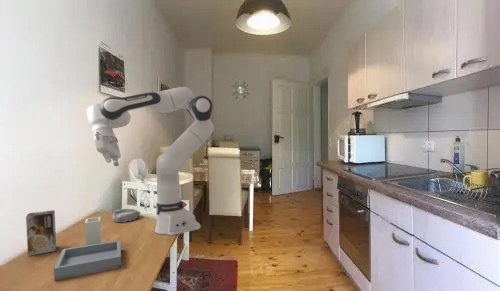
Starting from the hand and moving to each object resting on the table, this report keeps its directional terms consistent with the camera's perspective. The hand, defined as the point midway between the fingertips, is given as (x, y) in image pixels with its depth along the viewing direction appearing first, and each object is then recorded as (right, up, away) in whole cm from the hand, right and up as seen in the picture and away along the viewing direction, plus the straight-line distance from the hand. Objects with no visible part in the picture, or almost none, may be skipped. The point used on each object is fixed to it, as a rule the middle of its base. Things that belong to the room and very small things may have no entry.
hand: (113, 164), depth 128 cm
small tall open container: (-4, -35, -8) cm, 36 cm away
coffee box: (-24, -36, -11) cm, 44 cm away
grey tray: (+3, -35, -24) cm, 43 cm away
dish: (-9, -34, +33) cm, 48 cm away
